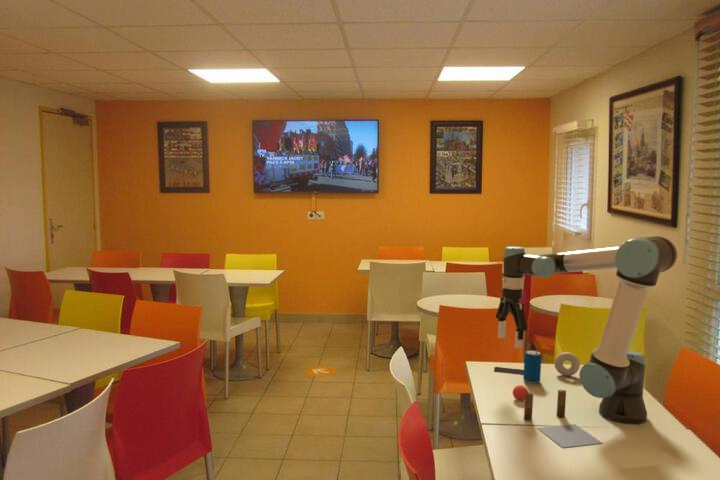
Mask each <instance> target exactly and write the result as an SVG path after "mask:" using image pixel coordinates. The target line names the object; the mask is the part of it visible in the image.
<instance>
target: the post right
mask: <svg viewBox="0 0 720 480" xmlns="http://www.w3.org/2000/svg"><path fill="white" fill-rule="evenodd" d="M566 397H567V391H566V390H564V389H558V390H557V405H556V417H557V418H560V419H561V418H562V419H564V418H565V416H566V402H567V401H566V400H567V398H566Z"/></svg>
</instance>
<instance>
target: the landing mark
mask: <svg viewBox="0 0 720 480" xmlns="http://www.w3.org/2000/svg"><path fill="white" fill-rule="evenodd" d="M537 430H538V431H539V432H541V433H542V434H544V435H545V436H546V437H548V438H549V439H550V440H551V441H553V442H554V443H555V444H557V445H558V446H559V447H560V448H562V449H565V448H566V449H567V448H576V447H584V446H594V445H602V444H603V442H602V441H601V440H599V439H597V438H596V437H594V436H593V435H592V434H590V433H589V432H587V431H586V430H585V429H584V428H581V427H580V426H579V425H577V424H575V423H573V424H572V423H571V424H563V425H553V426H545V427H544V426H543V427H537Z"/></svg>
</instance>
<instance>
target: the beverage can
mask: <svg viewBox="0 0 720 480" xmlns="http://www.w3.org/2000/svg"><path fill="white" fill-rule="evenodd" d="M523 362H524V363H523V370H524V375H523V381H525V382H526V383H529V384H534V385H535V384H538V383H539V382H541V374H542V373H541V372H542V371H541V368H542V354H541V352H540V351H538V350H532V349H531V350H526V351H525V353H524V361H523Z"/></svg>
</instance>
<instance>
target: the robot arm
mask: <svg viewBox="0 0 720 480" xmlns="http://www.w3.org/2000/svg"><path fill="white" fill-rule="evenodd" d="M677 258H678V251H677V248H676V246H675V244H674V243H673V242H672V241H671V240H670V239H668V238H666V237H663V236H660V235H659V236H658V235H657V236H645V237H643V236H641V237H640V236H639V237H635V238H631V239H628V240H626V241H624V242H622V243H621V244H620V246H611V247H610V246H609V247H602V248H601V247H600V248H593V249H592V248H590V249H583V250H581V249H580V250H572V251H571V250H570V251H565V252H563V251H561V252H554V253H545V254H538V255H537V254H529V253H526V252H525V248H524V247H522V246H507V247H504V250H503V257H502V260H503V261H502V262H503V263H502V264H503V266H502V267H503V268H502V279H501V281H502V286H503V287H502V289H501V290H502V291H501V297H500V298H499V305H498V308H497V311H496V314H495V318H496V319H497V321H498V327H497V329H498V330H497V331H498V333H497V338H498V339H504V338H506V332H507V331H506V330H507V329H506V327H507V317H508V315H509V314H510V315H512V317H513V320H514V324H515V327H516V329H515V338H514V339H515V340H514V348H515V349H521V348H523V347H524V345H523V344H524V332H525V331H528V325H527V320H526V315H525V305H524V303H520V300H522V299H523V290H524V289H523V287H524V275H528V276H533V277H538V278H551V276H552V275H553V274H562V273H563V274H564V273H565V274H566V273H574V272H575V273H576V272H589V271H590V272H591V271H603V270H616V272H615V273H616V274H615V276H616V278H618V280H619V281H618V284H617V287H616V290H615V294H614V297H613V301H612V303H611V307H610V310H609V313H608V316H607V320H606V324H605V326H604V329H603V333H602V336H601V338H600V342H599V345H598V347H596V348H593V349H592V351H591V355H590V357H589V361H588V362H587V363H585V364H584V365H582V366H581V367H580V369H579V374H578V375H579V381H580V384H581V385H582V387H583V389H584V390H585V391H586V393H588V394H589V395H591V396H592V397H595V398H598V399H602V400H601V402H599V405H598V409H599V410H598V413H599V414H600V416H601V417H604V419H607V420H609V421H612V422H615V423H620V424H627V425H641V424H644V423H646V422H647V420H648V410H647V409H646V404H645V400H644V386H645V385H644V383H645V371H646V366H647V365H646V357H645V355H644V354H643V353H641V352H638V351H635V350H633V349H630V347H631V344H632V341H633V338H634V336H635V332H636V329H637V326H638V322H639V319H640V316H641V314H642V310H643V307H644V304H645V301H646V298H647V296H648V292H649V289H652V288H654V287H656V286H657V283H658V280H659V276H660V273H664V272H667V271H668V270H670V269H671V268H672V267H674V265H675V264H676V262H677Z"/></svg>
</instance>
